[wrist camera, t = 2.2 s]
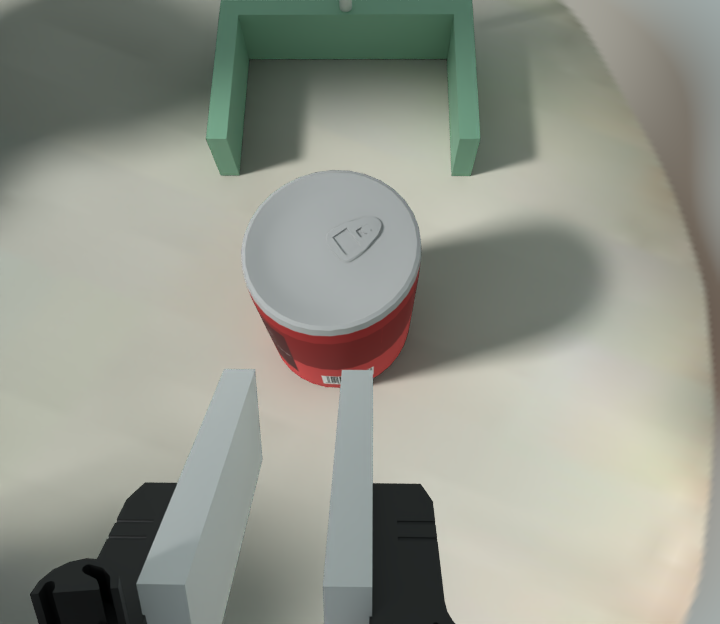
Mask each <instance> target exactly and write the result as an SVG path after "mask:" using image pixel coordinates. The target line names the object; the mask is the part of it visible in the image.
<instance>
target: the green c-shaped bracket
mask: <svg viewBox="0 0 720 624" xmlns="http://www.w3.org/2000/svg"><path fill="white" fill-rule="evenodd" d="M249 59H447V75H448V99H449V123H450V148H451V172H452V176H471V172H472V168H473V165H474V161H475V157H476V153H477V150H478V146H479V142H480V124H479V107H478V90H477V73H476V56H475V40H474V23H473V6H472V0H221V3H220V12H219V22H218V31H217V40H216V50H215V59H214V68H213V78H212V87H211V96H210V106H209V115H208V124H207V134H206V140H207V143H208V145H209V148H210V150H211V152H212V155H213V157H214V160H215V162H216V165H217V167H218V170H219V172H220V175H239V174H240V162H241V150H242V138H243V127H244V115H245V103H246V91H247V80H248V68H249Z"/></svg>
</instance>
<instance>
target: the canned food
mask: <svg viewBox="0 0 720 624" xmlns="http://www.w3.org/2000/svg"><path fill="white" fill-rule="evenodd" d="M421 249H422V248H421V239H420V232H419V227H418V224H417V221H416V219H415V216H414V214H413V212H412V210H411V209H410V207H409V206H408V204H407V203H406V201H405V200H404V199H403V198H402V197H401V196H400V195H399V194H398V193H397V192H396V191H395V190H394V189H393V188H391V187H390V186H388V185H387V184H385V183H384V182H382V181H381V180H378V179H376V178H373V177H371V176H368V175H366V174H362V173H357V172H353V171H342V170H330V171H322V172H315V173H312V174H308V175H305V176H302V177H299V178H297V179H295V180H293V181H291V182H289V183H287V184H285V185H283V186H282V187H280V188H279V189H278V190H276V191H275V192H274V193H272V194H271V195H270V196H269V197H268V198H267V199H266V200H265V201H264V202H263V203H262V204H261V205H260V206H259V208H258V209H257V211H256V212H255V214H254V215H253V217H252V218H251V220H250V222H249V224H248V227H247V229H246V232H245V234H244V238H243V244H242V250H241V256H242V269H243V274H244V278H245V282H246V286H247V288H248V290H249V293H250V295H251V298H252V300H253V302H254V304H255V306H256V308H257V310H258V312H259V314H260V316H261V318H262V320H263V322H264V324H265V326H266V328H267V330H268V332H269V334H270V336H271V338H272V340H273V342H274V344H275V346H276V348H277V350H278V352H279V354H280V356H281V358H282V360H283V361H284V362H285V363H286V365H287V366H288V367H289V368H290V369H291V370H292V371H293V372H294V373H296V374H297V375H298V376H300V377H301V378H303V379H305V380H307V381H309V382H311V383H313V384H317V385H321V386H325V387H338V388H340V386H341V375H342V370H373V378H374V377H376V376H378V375H379V374H381V373H382V372H383V371H384V370H385V369H387V368H388V367H389V366H390V365H391V364H392V363H393V361H394V360H395V359H396V358H397V357H398V355H399V353H400V352H401V350H402V348H403V346H404V344H405V341H406V338H407V334H408V331H409V325H410V320H411V315H412V309H413V304H414V299H415V293H416V288H417V283H418V277H419V269H420V262H421Z"/></svg>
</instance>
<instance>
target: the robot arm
mask: <svg viewBox="0 0 720 624" xmlns="http://www.w3.org/2000/svg"><path fill="white" fill-rule="evenodd" d="M261 463H262V447H261V435H260V423H259V411H258V399H257V387H256V374H255V369H224V371H223V373H222V376H221V378H220V381H219V383H218V386H217V388H216V391H215V393H214V395H213V398H212V400H211V403H210V405H209V408H208V410H207V412H206V415H205V417H204V420H203V422H202V425H201V427H200V430H199V432H198V434H197V437H196V439H195V442H194V444H193V447H192V449H191V451H190V454H189V456H188V459H187V461H186V464H185V466H184V469H183V471H182V473H181V476H180V478H179V481H178V483H144V484H143V485H142V486H141V487H140V488H139V489H138V490H136V491H135V492H134V493H133V494H132V495H131V496H130V497H129V498H128V499H127V500H126V502H125V504H124V506H123V508H122V510H121V512H120V514H119V516H118V518H117V523H115V524H114V526H113V528H112V530H111V532H110V534H109V539H107V540H106V542H105V544H104V546H103V548H102V550H101V552H100V554H99V556H98V558H97V559H88V558H86V559H81V560H77V561H72V562H69V563H66V564H64V565H62V566H60V567H58V568H56V569H54V570H52V571H51V572H50V573H49V574H47V575H46V576H45V577H44V578H42V579H41V580H40V581H39V582H38V583H37V585H36V586H35V588H34V589H33V591H32V592H31V594H30V596H31V600H32V603H33V606H34V610H35V613H36V616H37V619H38V623H39V624H222V622H223V618H224V614H225V610H226V606H227V602H228V598H229V594H230V590H231V586H232V582H233V577H234V573H235V569H236V565H237V561H238V557H239V553H240V549H241V545H242V541H243V537H244V533H245V528H246V524H247V520H248V516H249V512H250V508H251V504H252V500H253V496H254V492H255V488H256V484H257V479H258V475H259V471H260V467H261ZM323 601H324V624H455V623H454V622H453V621H452V619H451V617H450V615H449V614H448V612H447V609H446V605H445V601H444V593H443V584H442V576H441V567H440V559H439V551H438V542H437V534H436V525H435V517H434V508H433V501H432V500H431V498H430V497H429V495H428V494H427V492H426V491H425V490H424V488H423V487H422V485H421V484H384V483H373V370H342V375H341V386H340V398H339V409H338V420H337V432H336V443H335V455H334V466H333V478H332V489H331V500H330V512H329V523H328V535H327V546H326V557H325V569H324V580H323Z"/></svg>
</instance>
